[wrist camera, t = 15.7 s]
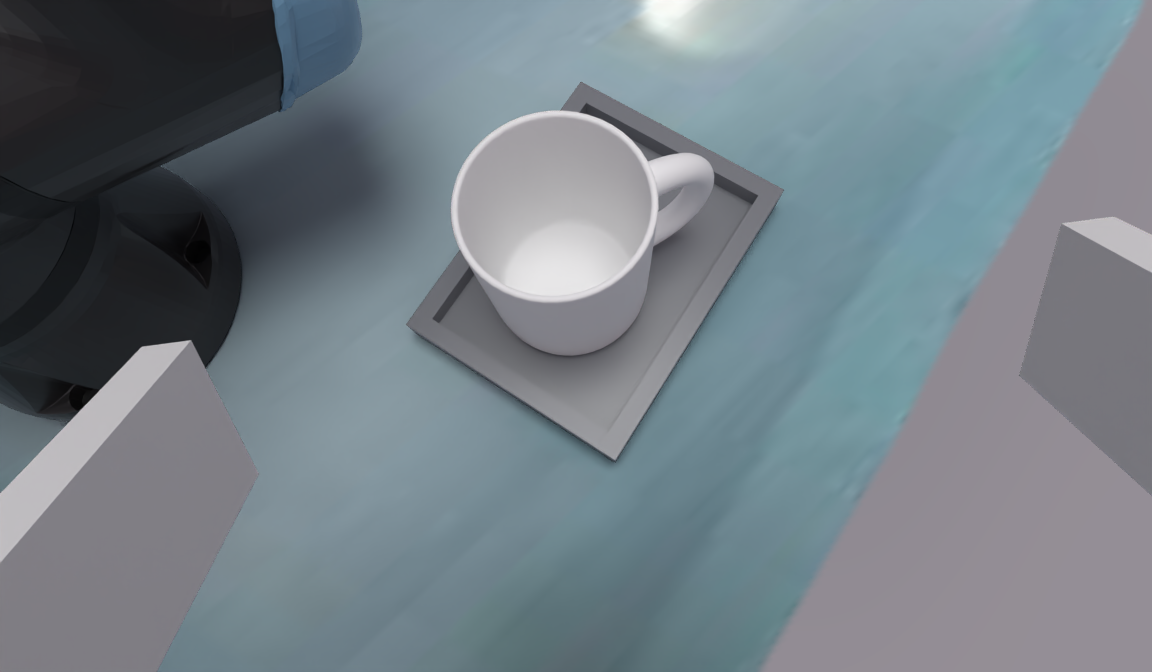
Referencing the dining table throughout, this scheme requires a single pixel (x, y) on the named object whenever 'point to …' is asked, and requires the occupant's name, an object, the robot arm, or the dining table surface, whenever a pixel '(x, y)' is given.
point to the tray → (661, 329)
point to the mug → (569, 225)
